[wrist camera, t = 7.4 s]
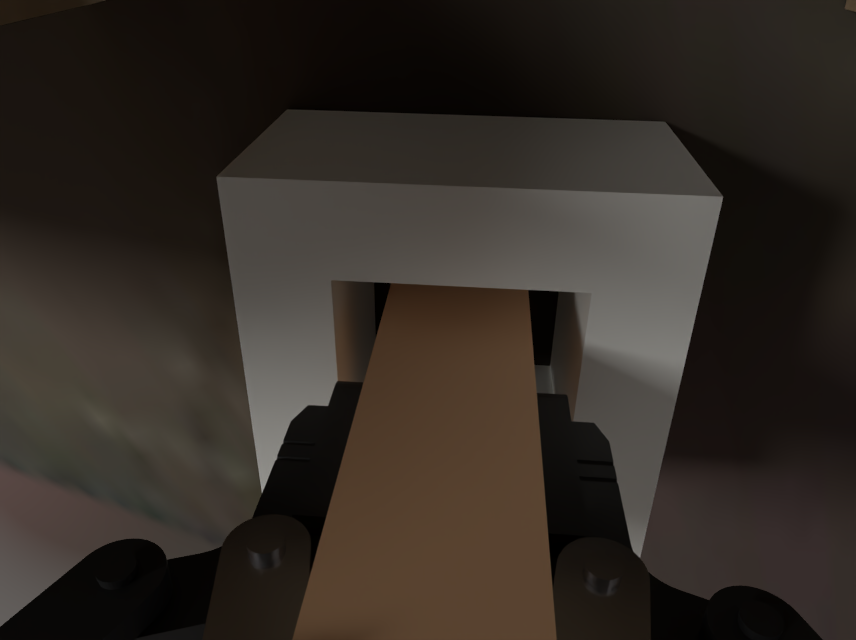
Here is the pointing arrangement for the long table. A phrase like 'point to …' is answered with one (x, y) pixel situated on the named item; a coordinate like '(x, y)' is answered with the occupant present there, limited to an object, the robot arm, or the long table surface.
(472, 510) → the peg
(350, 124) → the socket
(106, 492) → the long table surface
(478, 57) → the long table surface
